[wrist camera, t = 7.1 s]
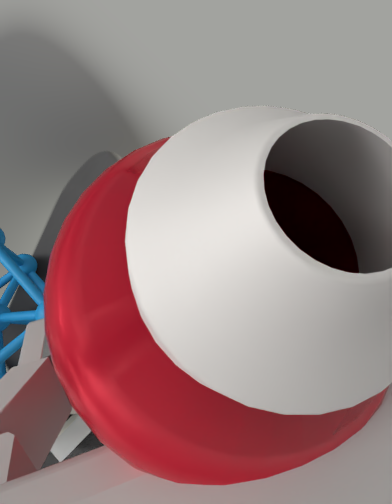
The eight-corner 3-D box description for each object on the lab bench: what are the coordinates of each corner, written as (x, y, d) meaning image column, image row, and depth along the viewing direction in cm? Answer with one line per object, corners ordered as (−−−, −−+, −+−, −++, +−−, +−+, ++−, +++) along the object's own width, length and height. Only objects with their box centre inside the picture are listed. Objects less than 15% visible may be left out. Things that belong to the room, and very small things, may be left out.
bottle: (222, 335, 21) (753, 193, 3) (168, 403, 20) (633, 1384, 1) (163, 282, 22) (265, -145, 3) (105, 343, 20) (-421, 181, 1)
